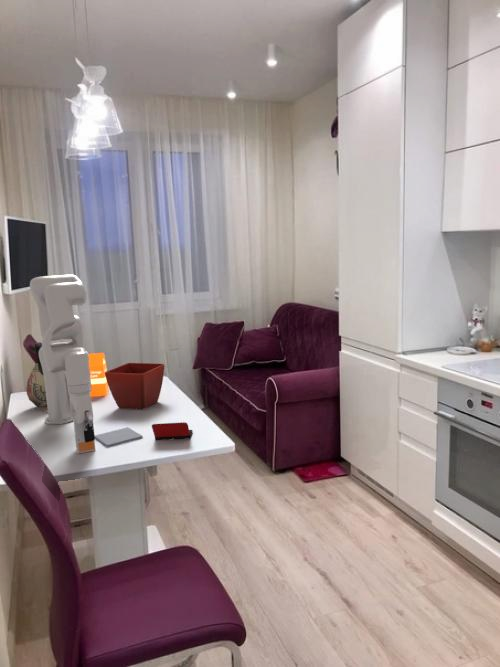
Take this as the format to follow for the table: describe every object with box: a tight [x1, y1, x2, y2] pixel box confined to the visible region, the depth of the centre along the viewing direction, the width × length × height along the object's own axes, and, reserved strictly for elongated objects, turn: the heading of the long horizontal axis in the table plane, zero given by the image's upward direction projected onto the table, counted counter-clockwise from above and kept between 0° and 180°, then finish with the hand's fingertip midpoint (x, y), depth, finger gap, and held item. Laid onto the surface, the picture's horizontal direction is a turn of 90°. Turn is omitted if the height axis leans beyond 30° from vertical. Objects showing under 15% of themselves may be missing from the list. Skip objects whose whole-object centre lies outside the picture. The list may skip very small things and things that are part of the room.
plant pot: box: [105, 362, 165, 411], centre depth 226 cm, size 19×19×17 cm
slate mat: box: [94, 426, 143, 448], centre depth 187 cm, size 13×13×1 cm
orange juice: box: [88, 352, 110, 398], centre depth 249 cm, size 8×9×20 cm
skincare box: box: [73, 419, 96, 454], centre depth 175 cm, size 6×4×12 cm
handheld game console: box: [151, 421, 193, 442], centre depth 184 cm, size 12×11×7 cm
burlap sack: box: [26, 341, 48, 410], centre depth 230 cm, size 17×15×30 cm
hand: (85, 437), depth 175 cm, fingers open, 9 cm apart
